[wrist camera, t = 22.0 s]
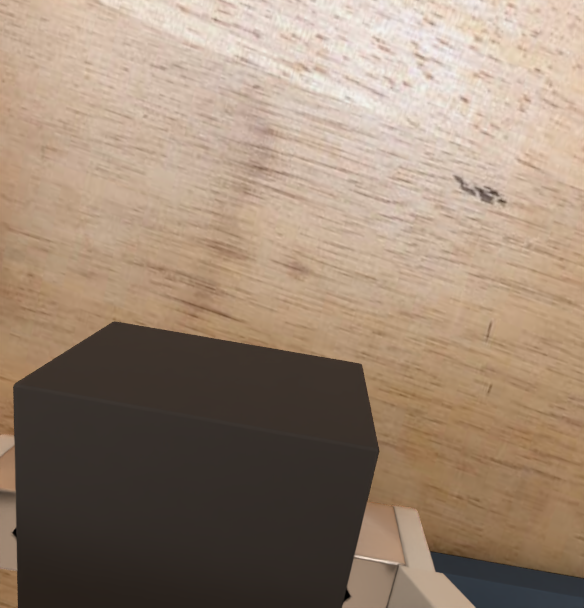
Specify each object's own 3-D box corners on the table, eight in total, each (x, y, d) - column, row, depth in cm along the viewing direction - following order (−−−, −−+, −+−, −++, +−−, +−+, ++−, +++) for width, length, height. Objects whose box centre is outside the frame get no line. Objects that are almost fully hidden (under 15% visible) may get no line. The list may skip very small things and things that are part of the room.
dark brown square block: (362, 363, 10) (380, 449, 7) (319, 565, 12) (316, 717, 8) (113, 320, 10) (11, 384, 7) (104, 525, 12) (17, 657, 9)
